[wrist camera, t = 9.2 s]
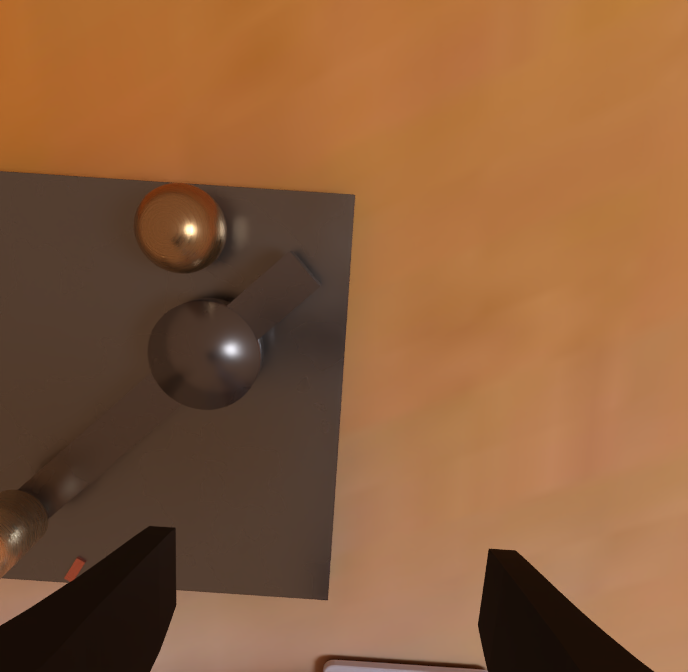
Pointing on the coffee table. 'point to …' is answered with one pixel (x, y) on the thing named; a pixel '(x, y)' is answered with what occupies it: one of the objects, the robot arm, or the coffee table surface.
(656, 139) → the coffee table surface
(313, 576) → the dark grey flat slab
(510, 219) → the coffee table surface
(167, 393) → the lever
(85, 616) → the robot arm
